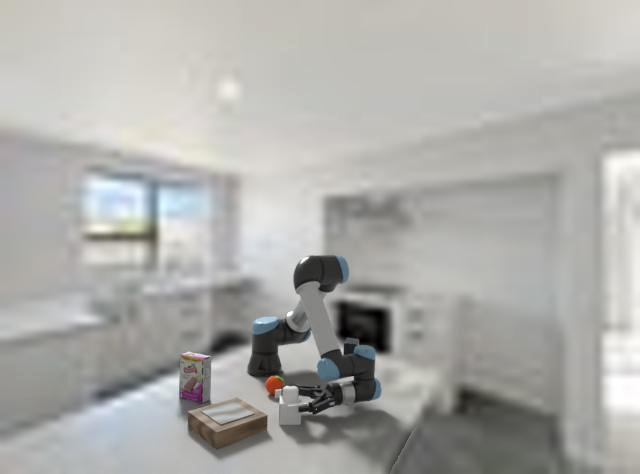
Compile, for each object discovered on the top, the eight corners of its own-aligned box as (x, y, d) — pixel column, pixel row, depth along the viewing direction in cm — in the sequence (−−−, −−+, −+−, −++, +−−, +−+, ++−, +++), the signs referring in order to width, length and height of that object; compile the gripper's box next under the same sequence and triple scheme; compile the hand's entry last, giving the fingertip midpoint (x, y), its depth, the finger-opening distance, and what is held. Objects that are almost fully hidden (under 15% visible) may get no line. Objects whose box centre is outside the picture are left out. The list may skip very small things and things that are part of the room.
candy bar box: (178, 398, 161) (179, 354, 161) (187, 393, 166) (188, 350, 165) (202, 404, 156) (203, 359, 156) (211, 399, 161) (212, 355, 160)
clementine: (288, 392, 170) (289, 374, 169) (281, 399, 163) (281, 380, 163) (270, 389, 172) (270, 371, 172) (262, 395, 166) (262, 377, 166)
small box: (356, 366, 204) (357, 343, 204) (342, 364, 205) (343, 342, 205) (358, 359, 214) (359, 338, 214) (345, 358, 216) (346, 337, 215)
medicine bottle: (279, 416, 149) (280, 381, 148) (300, 415, 149) (301, 381, 149) (278, 425, 142) (279, 389, 141) (300, 425, 142) (301, 389, 142)
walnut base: (187, 426, 139) (188, 410, 139) (236, 411, 151) (236, 396, 151) (216, 449, 126) (216, 431, 126) (267, 430, 138) (267, 414, 138)
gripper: (355, 419, 141) (293, 429, 133) (324, 391, 164) (270, 398, 156) (356, 396, 141) (294, 405, 132) (325, 371, 164) (270, 377, 155)
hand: (281, 401), depth 144 cm, fingers open, 13 cm apart
